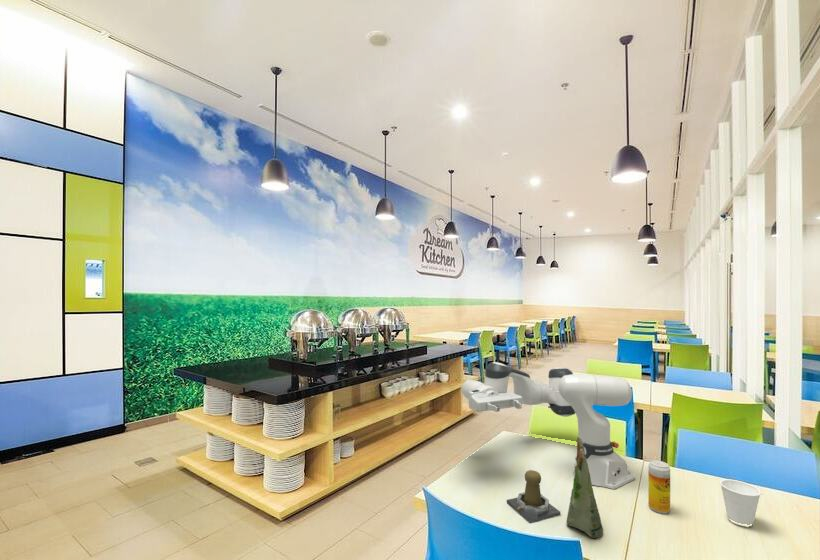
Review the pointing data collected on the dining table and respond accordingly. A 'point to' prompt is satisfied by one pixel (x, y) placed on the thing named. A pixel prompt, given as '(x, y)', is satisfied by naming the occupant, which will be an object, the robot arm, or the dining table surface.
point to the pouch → (583, 499)
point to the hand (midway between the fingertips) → (509, 408)
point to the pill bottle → (659, 486)
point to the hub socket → (533, 509)
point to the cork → (532, 489)
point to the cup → (740, 500)
